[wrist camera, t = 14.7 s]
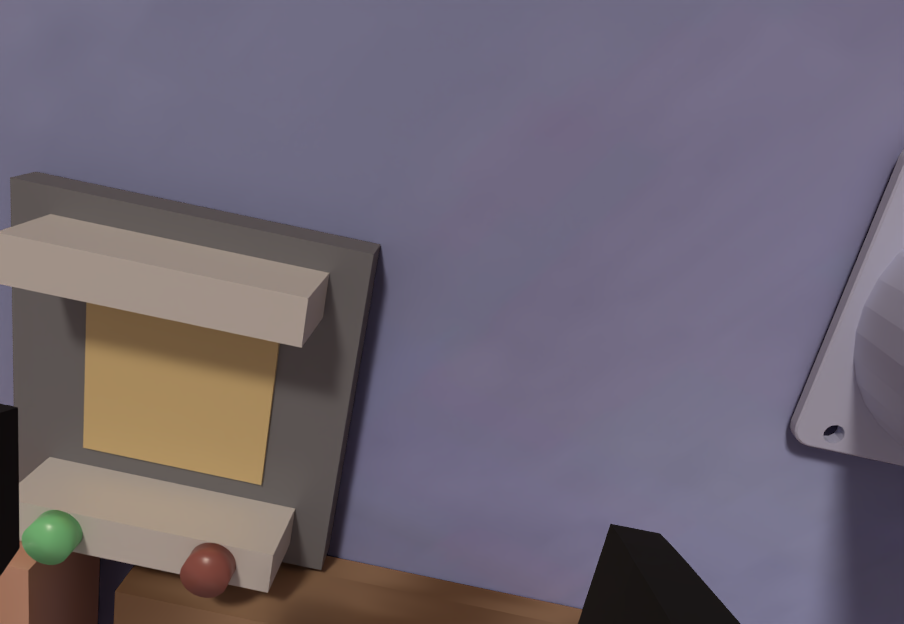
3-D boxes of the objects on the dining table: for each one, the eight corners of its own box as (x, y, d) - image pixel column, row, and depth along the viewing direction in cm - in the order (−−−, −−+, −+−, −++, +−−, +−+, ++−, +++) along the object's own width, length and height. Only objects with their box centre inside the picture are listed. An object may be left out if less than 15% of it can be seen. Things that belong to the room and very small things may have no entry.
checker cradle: (380, 244, 18) (352, 286, 15) (329, 547, 21) (296, 639, 18) (36, 171, 18) (-72, 196, 15) (36, 486, 21) (-52, 566, 18)
